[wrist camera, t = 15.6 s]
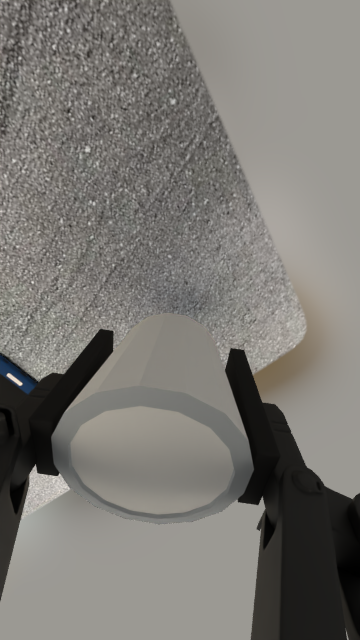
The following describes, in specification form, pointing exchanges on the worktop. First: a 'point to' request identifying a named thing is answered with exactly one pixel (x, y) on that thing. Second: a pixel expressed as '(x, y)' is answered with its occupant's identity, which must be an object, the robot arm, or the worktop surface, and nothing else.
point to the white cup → (157, 428)
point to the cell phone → (13, 384)
